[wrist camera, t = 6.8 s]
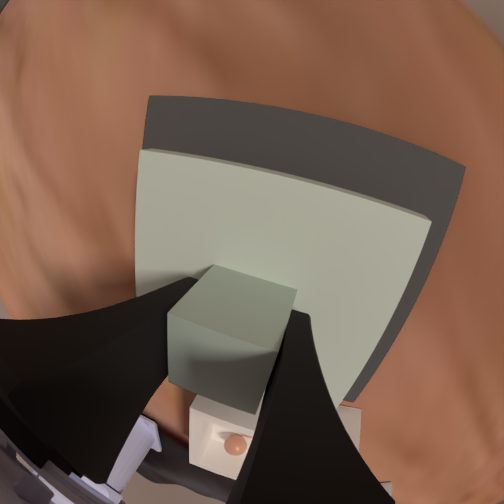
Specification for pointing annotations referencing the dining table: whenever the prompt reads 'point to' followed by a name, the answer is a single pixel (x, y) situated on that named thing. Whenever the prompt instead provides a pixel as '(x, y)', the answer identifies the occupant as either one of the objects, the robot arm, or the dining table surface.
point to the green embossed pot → (3, 4)
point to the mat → (319, 170)
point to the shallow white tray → (237, 434)
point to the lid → (266, 270)
